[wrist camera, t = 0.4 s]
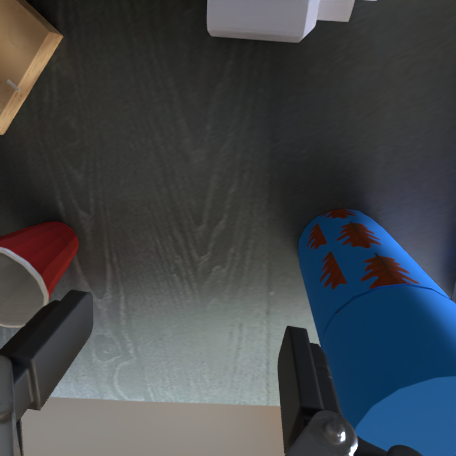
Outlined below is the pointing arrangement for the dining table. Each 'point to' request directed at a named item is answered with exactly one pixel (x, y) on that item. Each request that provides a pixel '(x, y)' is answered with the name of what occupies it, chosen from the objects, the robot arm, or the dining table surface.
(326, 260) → the thermos
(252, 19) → the charger
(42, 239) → the plastic cup
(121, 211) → the dining table surface
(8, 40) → the panel
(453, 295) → the decorative tray
